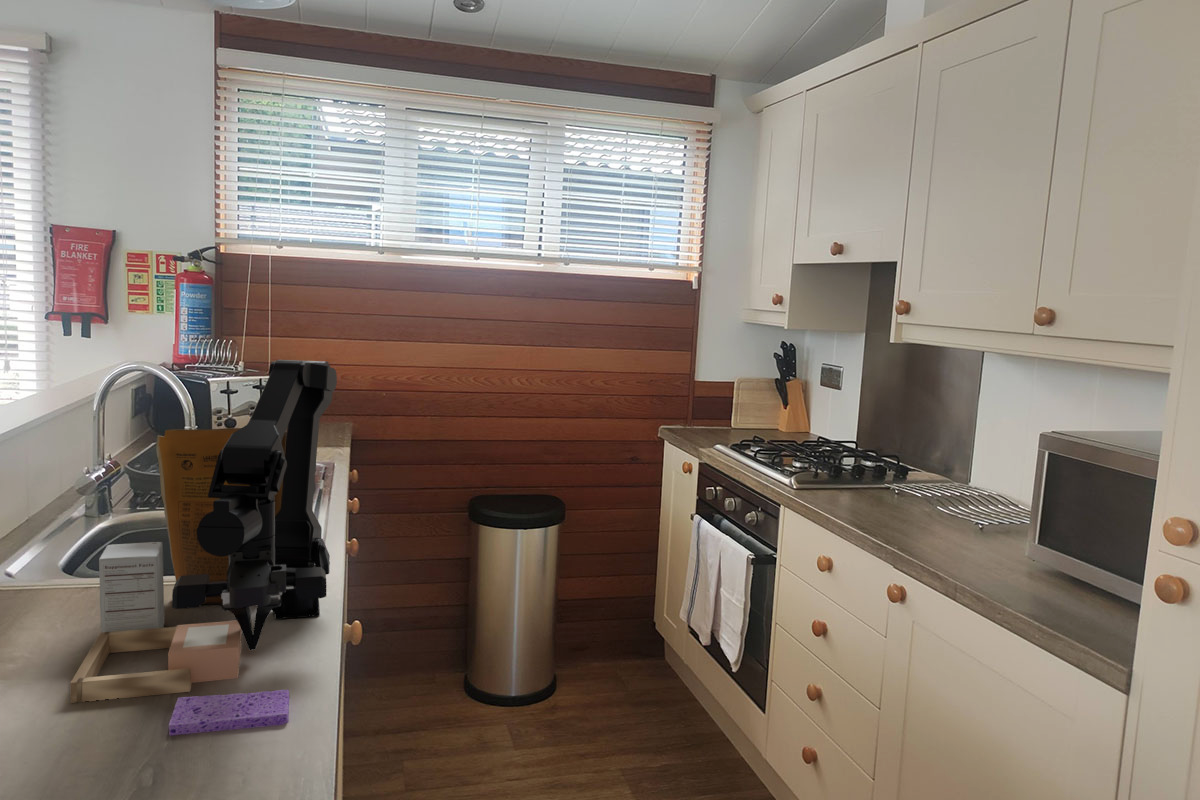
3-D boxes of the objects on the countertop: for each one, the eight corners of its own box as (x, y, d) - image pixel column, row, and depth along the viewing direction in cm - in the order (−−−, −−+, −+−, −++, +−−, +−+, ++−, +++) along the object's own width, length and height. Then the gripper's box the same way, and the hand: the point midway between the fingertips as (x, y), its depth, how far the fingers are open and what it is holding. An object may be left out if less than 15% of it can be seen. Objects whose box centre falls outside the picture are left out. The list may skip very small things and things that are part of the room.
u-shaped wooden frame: (204, 641, 122) (203, 624, 122) (190, 691, 106) (189, 672, 106) (100, 650, 118) (100, 632, 117) (70, 703, 102) (70, 682, 102)
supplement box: (108, 628, 125) (106, 543, 124) (165, 624, 128) (164, 540, 127) (99, 648, 118) (97, 558, 117) (159, 642, 121) (158, 554, 120)
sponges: (178, 712, 102) (178, 697, 102) (291, 701, 106) (291, 686, 106) (167, 740, 96) (167, 724, 95) (288, 728, 99) (288, 712, 99)
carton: (241, 651, 120) (241, 619, 120) (237, 680, 111) (237, 646, 110) (177, 657, 117) (177, 624, 117) (168, 687, 108) (168, 652, 108)
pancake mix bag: (281, 607, 136) (283, 430, 134) (153, 607, 134) (153, 427, 132) (291, 595, 142) (293, 426, 141) (169, 595, 140) (170, 423, 139)
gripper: (165, 556, 104) (167, 681, 105) (328, 547, 110) (328, 665, 112) (176, 533, 114) (178, 647, 116) (324, 526, 121) (324, 634, 122)
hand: (252, 649), depth 116 cm, fingers closed
